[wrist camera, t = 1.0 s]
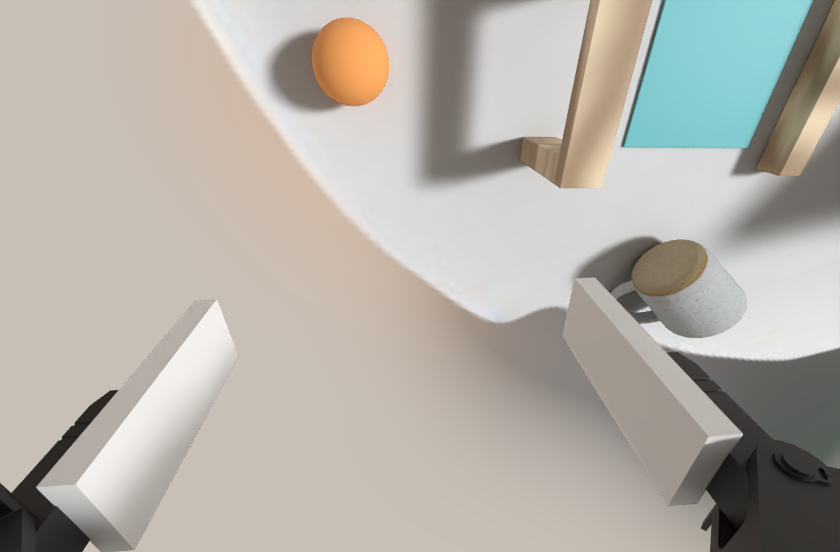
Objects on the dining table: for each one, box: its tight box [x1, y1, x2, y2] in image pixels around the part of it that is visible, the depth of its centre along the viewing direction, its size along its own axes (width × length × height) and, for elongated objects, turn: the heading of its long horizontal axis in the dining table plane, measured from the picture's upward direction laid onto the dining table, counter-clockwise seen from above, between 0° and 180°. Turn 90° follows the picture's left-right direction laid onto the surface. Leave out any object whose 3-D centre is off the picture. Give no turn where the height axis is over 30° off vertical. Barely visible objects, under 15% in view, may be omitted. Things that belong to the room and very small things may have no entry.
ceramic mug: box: [610, 240, 747, 338], centre depth 37 cm, size 11×8×8 cm
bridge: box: [520, 0, 652, 188], centre depth 26 cm, size 3×14×9 cm, turn 179°
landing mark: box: [623, 0, 813, 148], centre depth 30 cm, size 12×12×1 cm
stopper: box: [756, 0, 840, 176], centre depth 30 cm, size 16×2×2 cm, turn 179°
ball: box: [312, 18, 389, 106], centre depth 26 cm, size 6×6×6 cm
